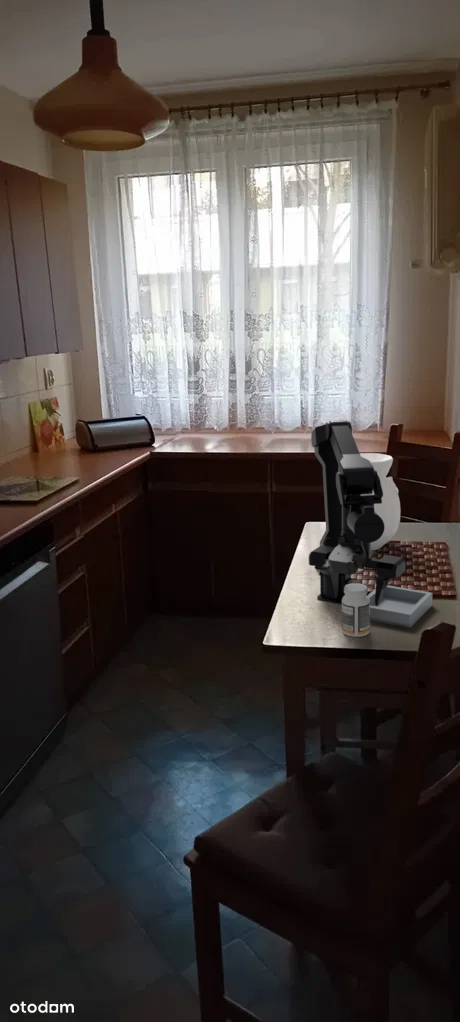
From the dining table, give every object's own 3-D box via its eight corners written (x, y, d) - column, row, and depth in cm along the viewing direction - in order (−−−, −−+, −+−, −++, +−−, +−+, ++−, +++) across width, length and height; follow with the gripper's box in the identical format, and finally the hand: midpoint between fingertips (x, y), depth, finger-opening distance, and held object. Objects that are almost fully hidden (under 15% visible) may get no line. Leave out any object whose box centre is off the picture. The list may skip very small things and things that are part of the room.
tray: (355, 617, 168) (356, 604, 168) (380, 596, 180) (380, 584, 179) (409, 628, 162) (410, 614, 161) (432, 605, 173) (432, 592, 173)
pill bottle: (366, 626, 164) (367, 581, 161) (372, 637, 158) (372, 591, 156) (339, 627, 164) (339, 582, 161) (344, 638, 158) (344, 592, 156)
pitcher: (390, 559, 205) (391, 465, 198) (322, 552, 213) (322, 461, 206) (407, 539, 221) (409, 452, 214) (344, 533, 229) (344, 449, 222)
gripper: (295, 532, 154) (296, 606, 158) (385, 545, 144) (384, 624, 148) (320, 518, 163) (320, 589, 167) (407, 529, 153) (405, 604, 157)
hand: (355, 601), depth 159 cm, fingers open, 9 cm apart
